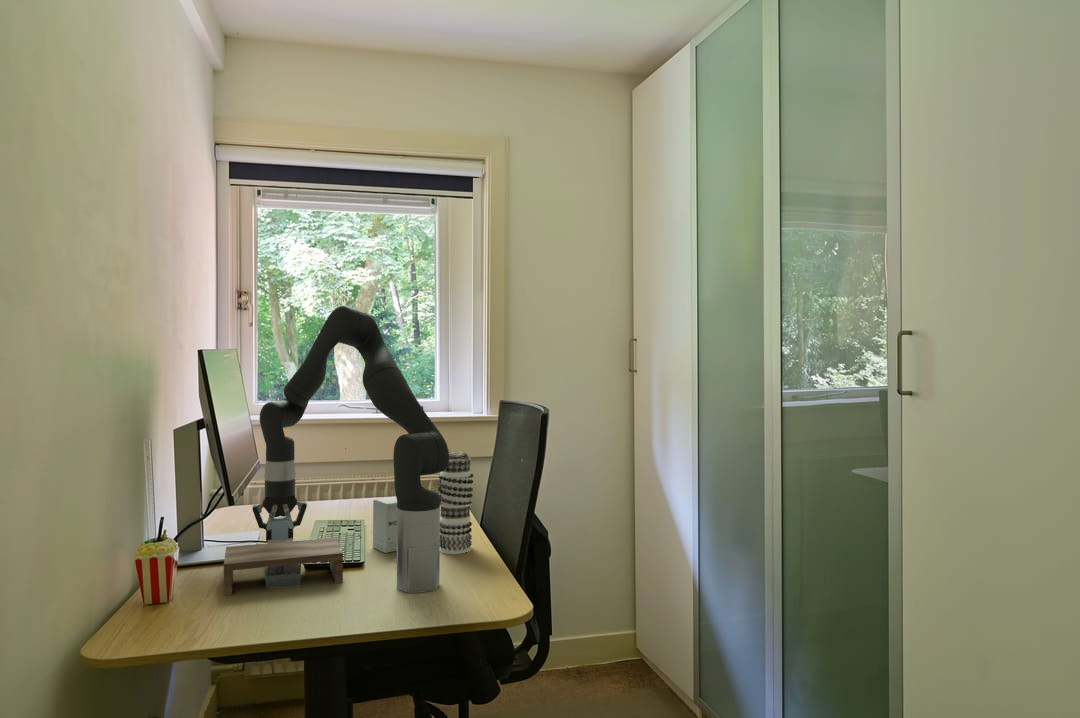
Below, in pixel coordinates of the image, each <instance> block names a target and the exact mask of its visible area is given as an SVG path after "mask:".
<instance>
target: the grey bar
mask: <svg viewBox="0 0 1080 718" xmlns="http://www.w3.org/2000/svg"><path fill="white" fill-rule="evenodd" d="M271 529H272V540H267V542H266V544H267V543H278V542H290V541H294V539H293V540H292V538H288V520H287V519H286V516H285V517H283V516H279V517H274V521H272V527H271Z"/></svg>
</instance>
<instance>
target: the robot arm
mask: <svg viewBox="0 0 1080 718" xmlns="http://www.w3.org/2000/svg"><path fill="white" fill-rule="evenodd" d="M338 344H343V345H346V346H350V347H353V348H354V349H355V350H357V351H358V353H359V354H360V356H361V357H362V359H363V361H364V364H365V365H364V367H363V373H362V385H363V388H364V390H365V392H366V394H367V395H368V398H369V400H370V401H371V403H372V404H373V406H374V407H375V409H376V410H378V411H379V412H380V413H382V414H383V415H384V416H385V417H387V418H388V419H390V420H391V421H393V422H394V423H395V424H397V425H398V426H400V427H401V428H403V429H404V430H405V431H406V432H407V433H404V434H401V435H400V436H399V437H398V438H397V439H396V441H395V443H394V447H393V461H392V462H393V479H394V481H393V483H394V494H395V497H396V498H397V551H396V588H397V589H398V590H400V591H403V592H406V593H407V594H414V593H424V592H431V591H437V590H438V588H439V587H440V576H441V575H440V571H441V570H440V569H441V568H440V567H441V566H440V560H441V559H440V558H441V556H440V555H441V552H440V534H441V533H440V528H441V527H440V515H441V506H440V495H439V494H440V493H439V492H437V491H435V490H432V489H428V488H425V487H424V486H423V485H422V481H421V480H422V479H421V476H429V475H435V474H438V473H439V474H440V472H442V471H443V470H445V469H446V468H447V466H448V464H449V452H450V451H449V447H448V443H447V442H446V440H445V438H444V437H443V435H442V433H441V432H440V430H439V429H438V427H436V425H435V424H434V422H432V420H431V418H430V417H429V416H428V414H427V413H426V412H425V410H424V409H423V407H422V406H421V404H420V402H419V401H418V399H417V397H416V396H415V395H414V393H413V391H412V388H411V387H410V385H409V383H408V382H407V380H406V378H405V376H404V375H403V373H402V370H400V368H399V366H398V365H397V363H396V362H395V359H394V358H393V356H392V354H391V352H390V350H389V349H388V347H387V345H386V342H385V341H384V338H383V336H382V333H381V330H380V329H379V325H378V324H377V322H376V319H375V318H374V317H373V316H372V315H371V314H370V313H368V312H366V311H363V310H360V309H357V308H354V307H351V306H348V305H339V306H337V307H335V308H334V309H333V310H332V311H331V313H330V314H329V315H328V317H327V318H326V320H325V321H324V323H323V325H322V327H321V329H320V331H319V333H318V334H317V336H316V338H315V340H314V341H313V344H312V345H311V348H310V350H309V351H308V353H307V356H306V357H305V359H304V361H303V362H302V363H301V365H300V366H299V368H298V369H297V370H296V372H295V373H294V374H293V376H292V377H291V378H290V379H289V380H288V382H287V383H286V384H285V386H284V389H283V394H284V397H285V399H284V400H276V401H275V400H274V401H269V402H266V403H265V404H264V405H263V406H262V407H261V409H260V412H259V425H260V429H261V432H262V436H263V439H264V443H265V465H264V466H265V467H264V497H263V498H264V499H263V501H262V502H261V503H259V504H253V505H252V512H253V515H254V518H255V520H256V523H257V526H258V529H261V530H265V541H266V543H267V540H272V529H271V527H272V521H274V518H275V517H286V519H287V520H288V538H292V540H293V541H294V528H296V527H298V526H301V523H302V521H303V518H304V517H305V513H306V511H307V507H308V503H307V502H306V501H299V500H298V499H297V498H296V473H297V472H296V463H295V461H296V460H295V453H296V452H295V451H296V450H295V441H294V438H292V437H290V436H286V435H285V432H284V428H290V427H293V426H294V425H296V424H297V423H299V421H300V420H301V419H302V418H303V416H304V413H305V411H306V409H307V407H308V404H309V402H310V400H311V399H312V397H314V395H316V393H317V392H318V391H319V389H320V388H321V386H322V385H323V383H324V381H325V378H326V375H327V374H326V373H327V365H328V364H327V363H328V357H329V355H330V353H331V351H332V350H333V349H334V348H336V346H337V345H338ZM296 506H297V510H298V514H297V515H296V519H295V520H293V519H292V515H291V512H292V511H293V510H294V508H296ZM263 509H265V511H266V512H267V513H268V517H267V521H266V522H264V521H263V519H262V515H261V513H262V511H263Z"/></svg>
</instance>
